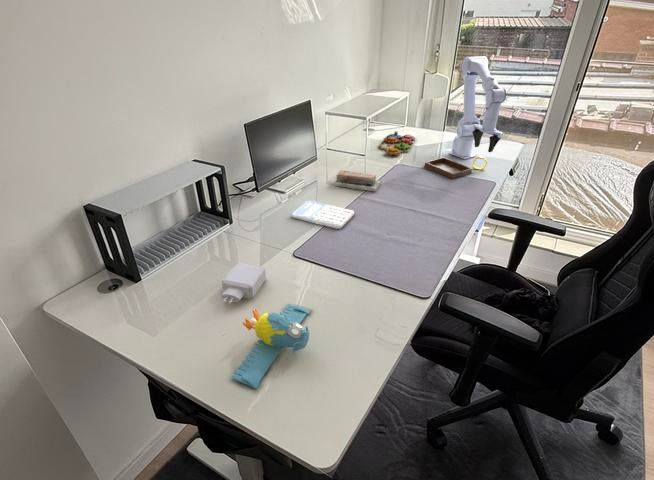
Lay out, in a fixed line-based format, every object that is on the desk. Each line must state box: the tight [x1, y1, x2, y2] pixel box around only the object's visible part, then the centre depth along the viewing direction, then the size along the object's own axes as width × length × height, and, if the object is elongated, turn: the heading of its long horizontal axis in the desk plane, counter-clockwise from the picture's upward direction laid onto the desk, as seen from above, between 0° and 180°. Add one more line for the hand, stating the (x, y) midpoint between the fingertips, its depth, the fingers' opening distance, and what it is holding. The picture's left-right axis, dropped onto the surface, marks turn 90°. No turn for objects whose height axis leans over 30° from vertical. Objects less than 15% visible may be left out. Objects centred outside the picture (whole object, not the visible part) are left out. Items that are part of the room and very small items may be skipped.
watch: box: [472, 155, 488, 171], centre depth 192 cm, size 6×3×6 cm, turn 77°
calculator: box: [291, 200, 355, 230], centre depth 155 cm, size 13×20×2 cm, turn 62°
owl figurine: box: [231, 303, 311, 390], centre depth 99 cm, size 28×9×15 cm
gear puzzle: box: [378, 130, 416, 156], centre depth 217 cm, size 31×16×4 cm, turn 160°
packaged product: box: [334, 170, 381, 193], centre depth 178 cm, size 18×5×10 cm
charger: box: [220, 262, 267, 304], centre depth 117 cm, size 5×9×15 cm
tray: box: [424, 156, 473, 180], centre depth 192 cm, size 17×12×2 cm
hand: (483, 149), depth 189 cm, fingers open, 7 cm apart
